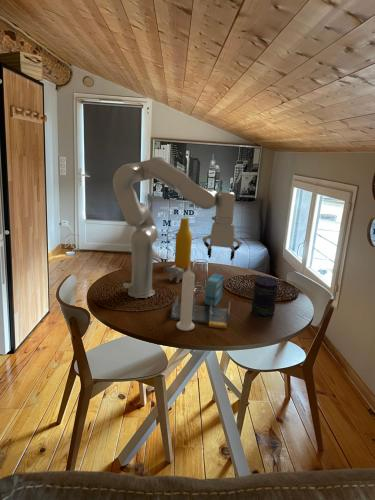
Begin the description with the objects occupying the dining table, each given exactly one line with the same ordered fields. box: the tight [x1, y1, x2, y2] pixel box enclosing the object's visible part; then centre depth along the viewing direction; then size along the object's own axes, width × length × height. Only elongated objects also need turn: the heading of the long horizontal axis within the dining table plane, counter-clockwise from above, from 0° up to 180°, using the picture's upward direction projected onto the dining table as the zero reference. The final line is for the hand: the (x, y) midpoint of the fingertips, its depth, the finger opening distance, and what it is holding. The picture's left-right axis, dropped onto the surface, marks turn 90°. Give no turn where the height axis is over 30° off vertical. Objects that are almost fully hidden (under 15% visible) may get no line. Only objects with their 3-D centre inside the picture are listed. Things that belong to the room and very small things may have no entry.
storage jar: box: [250, 276, 279, 319], centre depth 155 cm, size 10×10×15 cm
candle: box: [176, 265, 196, 332], centre depth 137 cm, size 7×7×25 cm
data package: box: [204, 273, 224, 308], centre depth 164 cm, size 12×4×12 cm, turn 159°
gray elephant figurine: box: [163, 264, 185, 284], centre depth 189 cm, size 9×12×8 cm
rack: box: [170, 294, 231, 329], centre depth 150 cm, size 23×16×5 cm
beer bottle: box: [173, 217, 193, 270], centre depth 208 cm, size 9×9×29 cm
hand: (220, 258), depth 159 cm, fingers open, 9 cm apart
